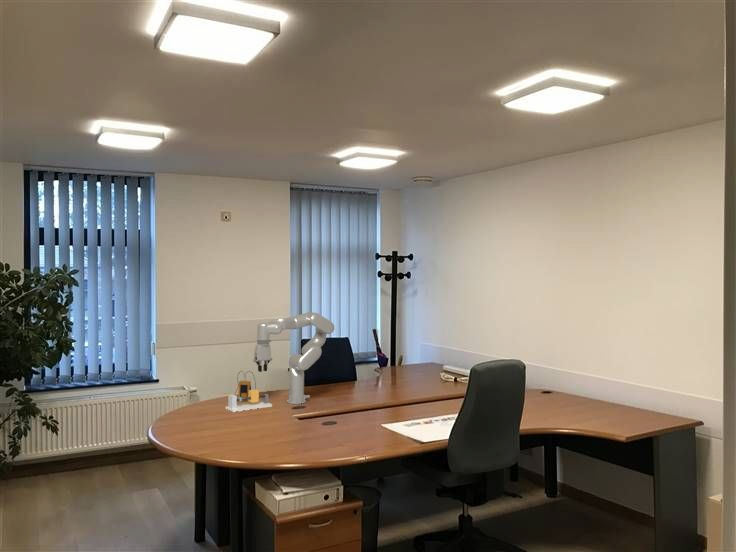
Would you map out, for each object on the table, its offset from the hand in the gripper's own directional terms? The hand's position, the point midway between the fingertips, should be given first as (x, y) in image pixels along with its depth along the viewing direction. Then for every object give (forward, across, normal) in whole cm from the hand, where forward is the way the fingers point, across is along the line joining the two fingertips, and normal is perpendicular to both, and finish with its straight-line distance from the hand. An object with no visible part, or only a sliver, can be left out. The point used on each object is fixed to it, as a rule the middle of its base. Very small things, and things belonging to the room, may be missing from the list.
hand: (262, 371), depth 370 cm
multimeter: (+23, 0, -21) cm, 31 cm away
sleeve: (+19, +6, 0) cm, 20 cm away
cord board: (+22, +9, 0) cm, 24 cm away
